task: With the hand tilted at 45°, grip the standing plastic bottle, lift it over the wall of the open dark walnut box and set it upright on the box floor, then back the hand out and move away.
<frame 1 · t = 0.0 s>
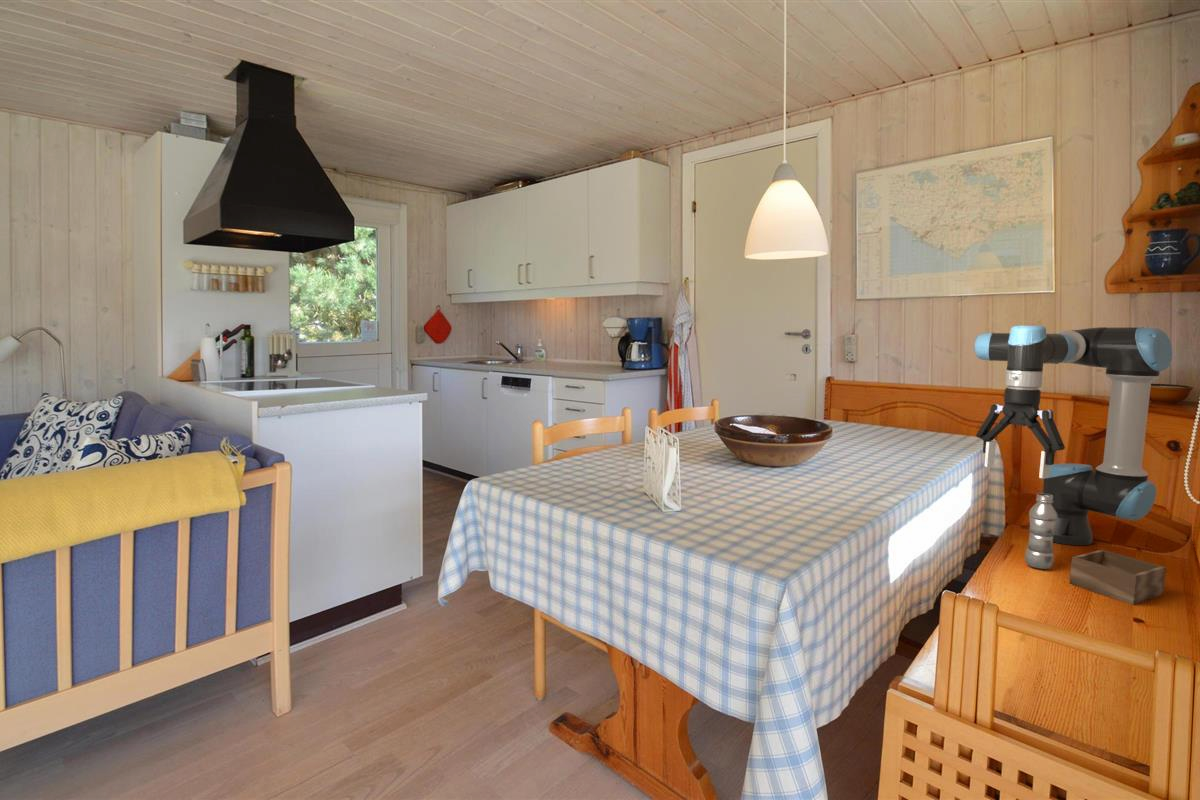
hand: (1015, 471, 161), 28 cm above the bench, tool pointing down, fingers open, 13 cm apart
plastic bottle: (1038, 567, 173), on the bench
walnut bottle box: (1115, 589, 158), on the bench
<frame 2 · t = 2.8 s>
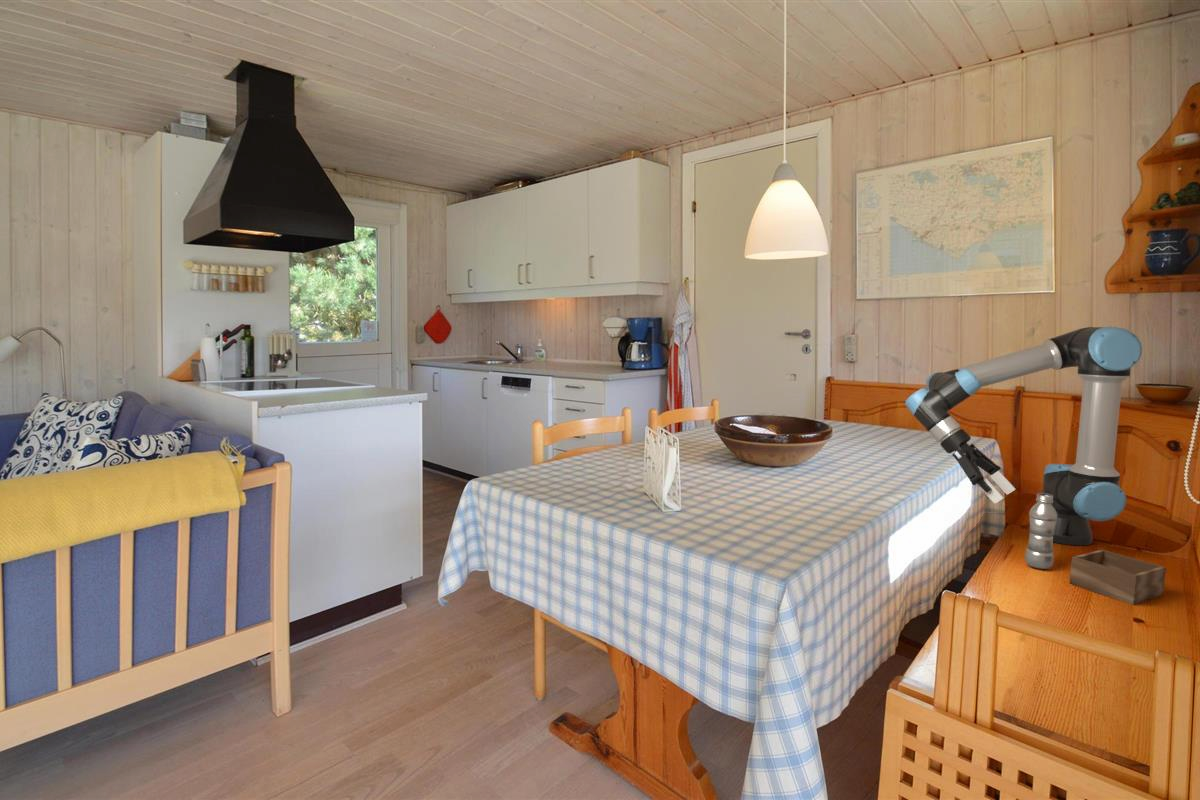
hand: (1005, 496, 177), 18 cm above the bench, tool tilted 45°, fingers open, 13 cm apart
nothing on the bench moved.
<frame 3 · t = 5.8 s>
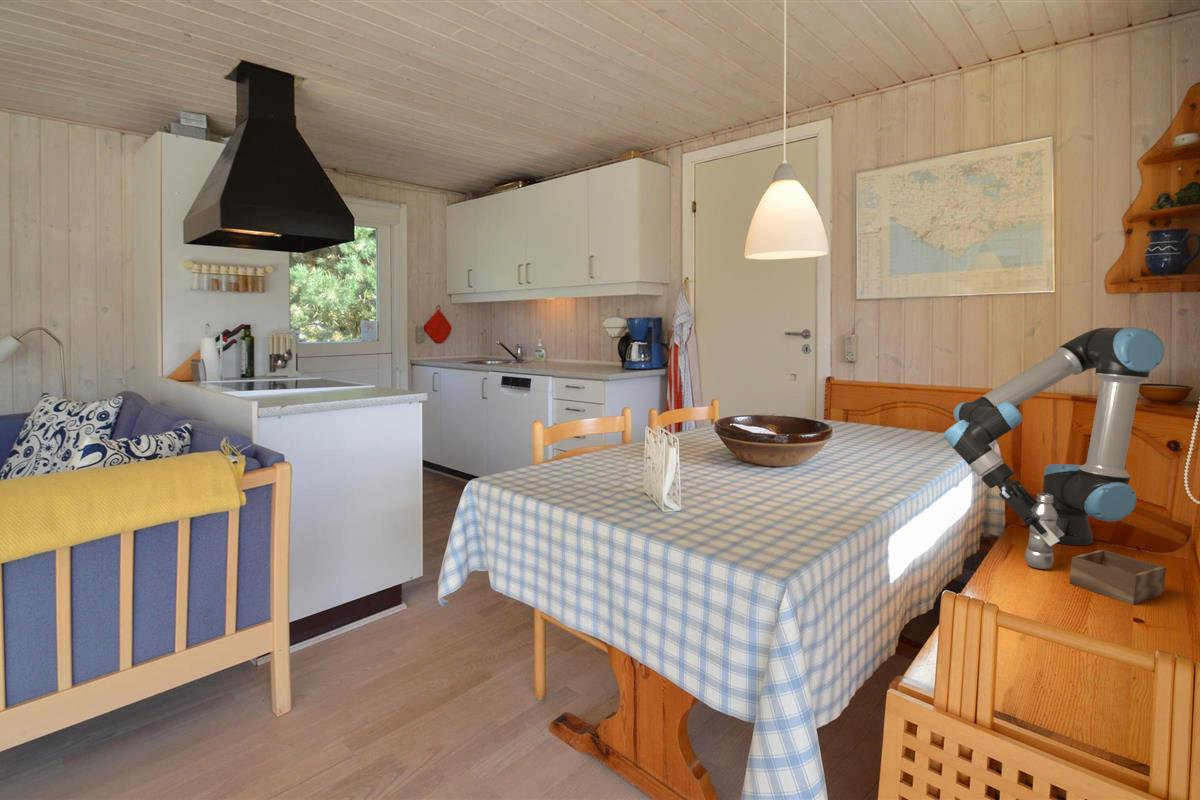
hand: (1057, 540, 169), 8 cm above the bench, tool tilted 45°, fingers closed on plastic bottle, 6 cm apart
plastic bottle: (1038, 567, 173), on the bench, touching gripper
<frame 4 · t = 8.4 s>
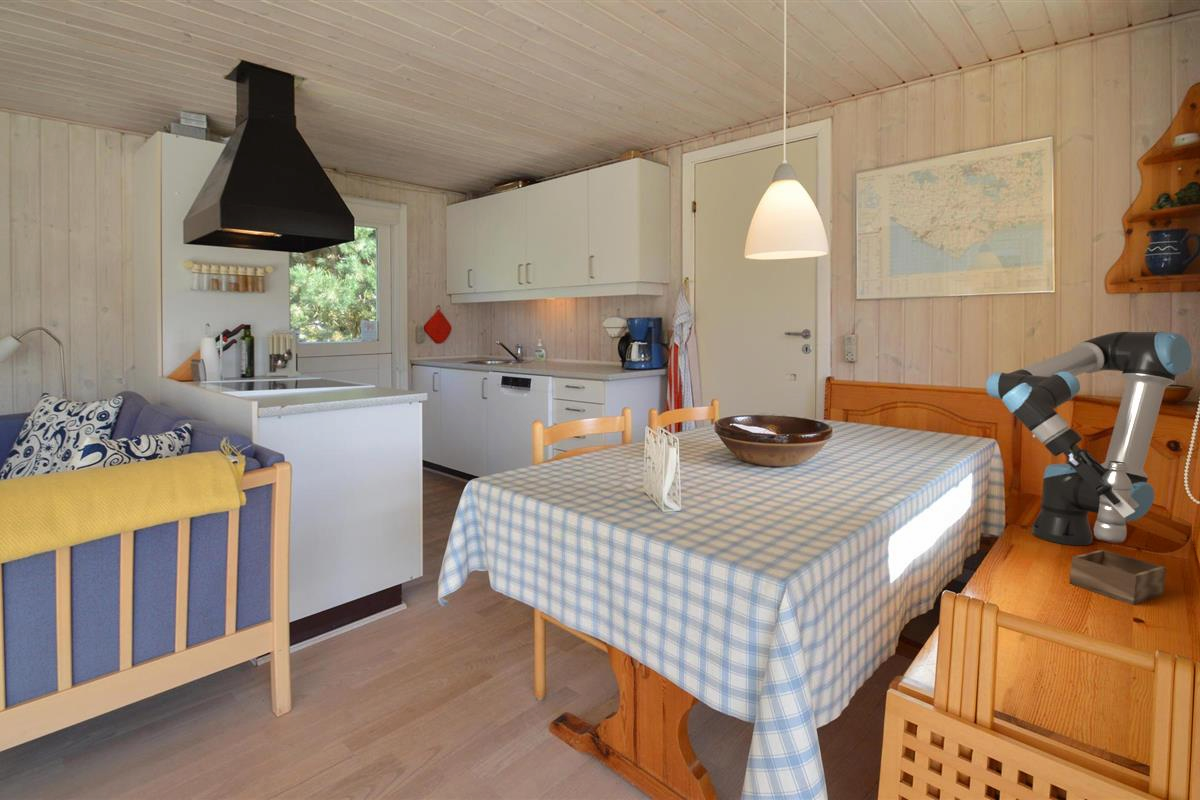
hand: (1131, 511, 155), 20 cm above the bench, tool tilted 45°, fingers closed on plastic bottle, 6 cm apart
plastic bottle: (1108, 542, 158), point 12 cm above the bench, touching gripper
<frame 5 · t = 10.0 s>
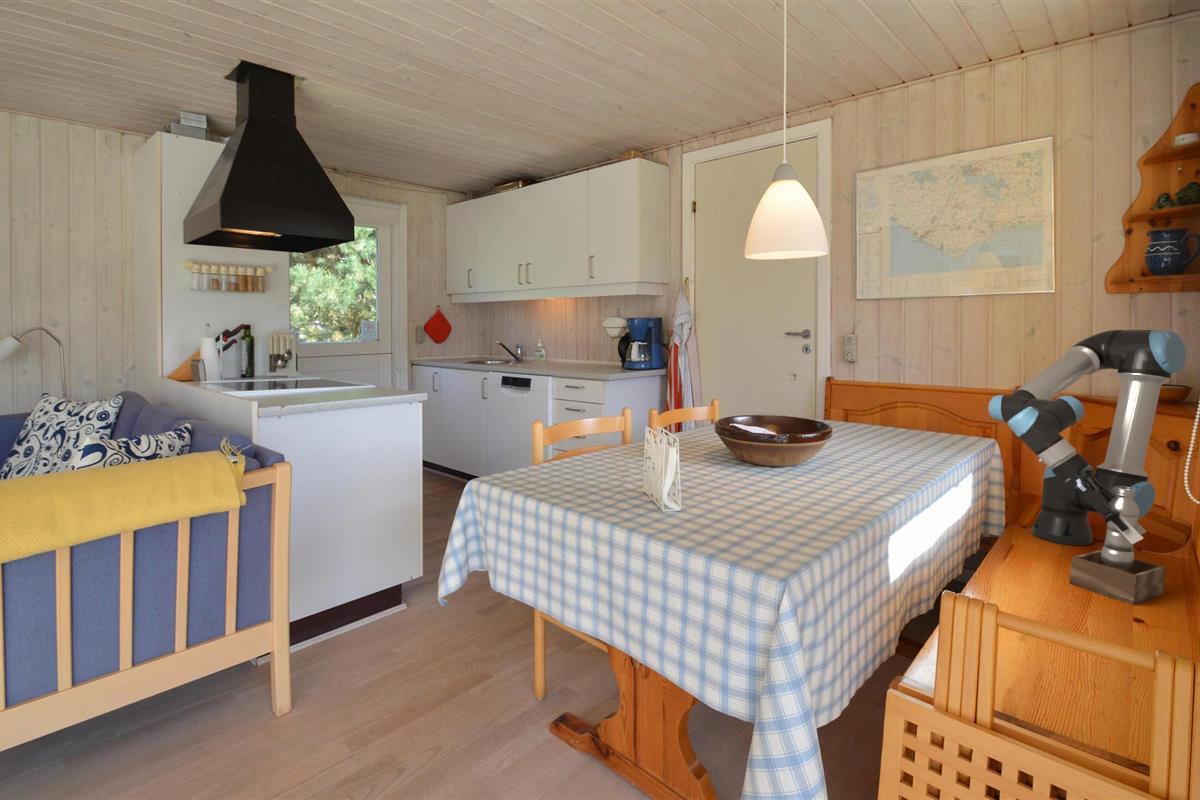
hand: (1139, 537, 154), 14 cm above the bench, tool tilted 45°, fingers closed on plastic bottle, 6 cm apart
plastic bottle: (1116, 568, 158), point 5 cm above the bench, touching gripper
when the fingers open (11 cm above the bench, at t = 11.0 s): plastic bottle drops 2 cm, resting on walnut bottle box.
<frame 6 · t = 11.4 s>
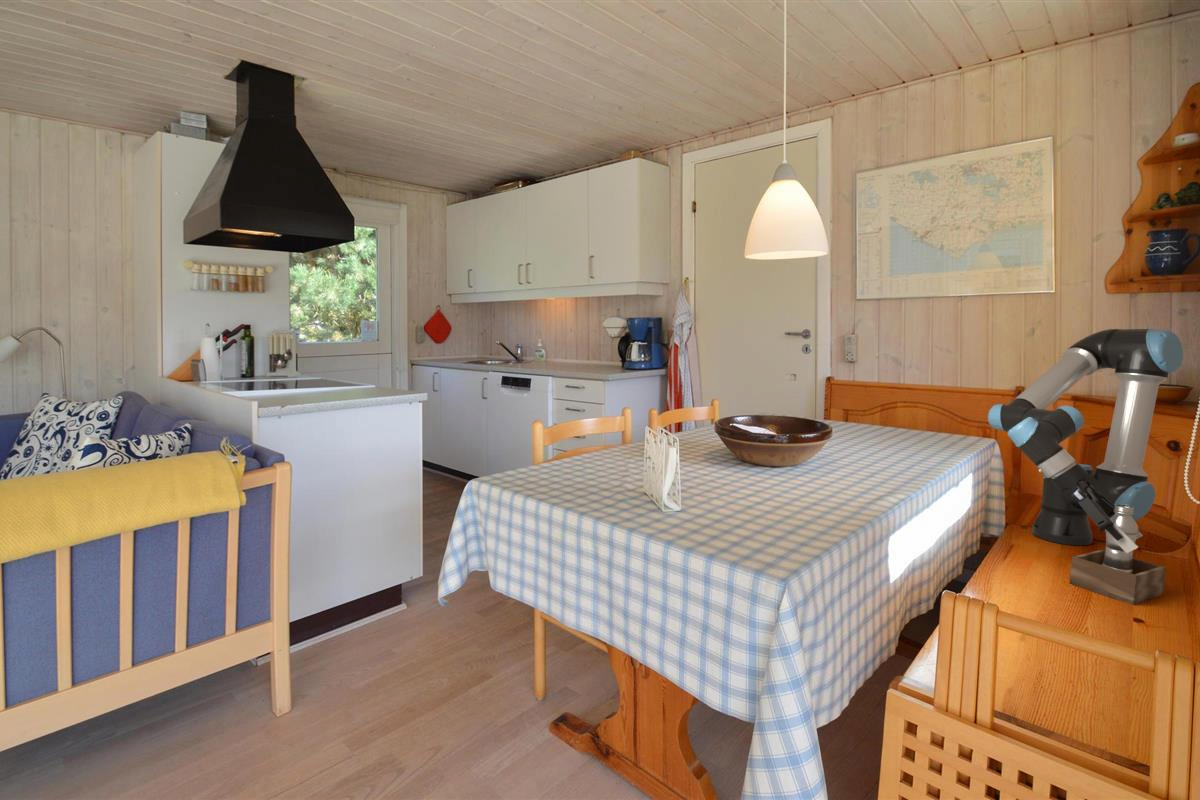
hand: (1135, 544, 155), 12 cm above the bench, tool tilted 45°, fingers open, 11 cm apart
plastic bottle: (1115, 585, 159), point 1 cm above the bench, touching walnut bottle box
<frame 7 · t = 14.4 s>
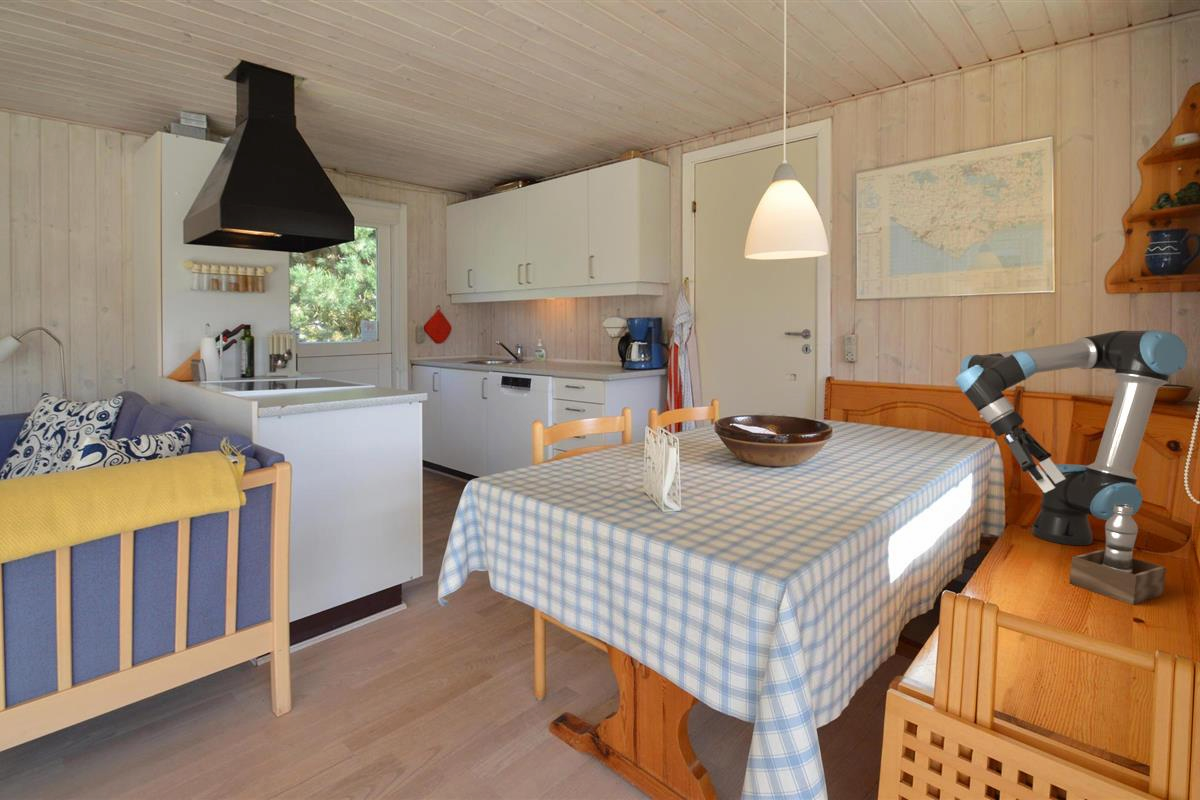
hand: (1055, 485, 167), 23 cm above the bench, tool tilted 40°, fingers open, 13 cm apart
nothing on the bench moved.
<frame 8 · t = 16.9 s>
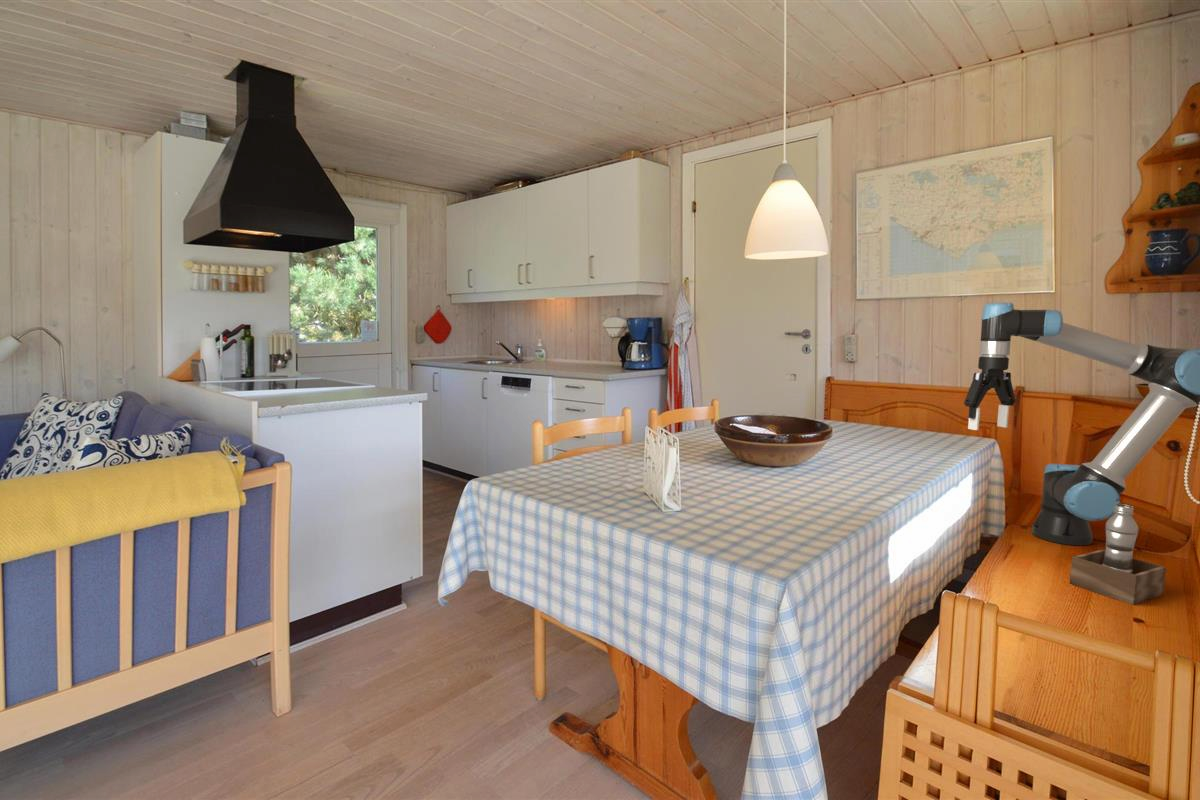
hand: (987, 428, 189), 35 cm above the bench, tool pointing down, fingers open, 13 cm apart
nothing on the bench moved.
at the end: plastic bottle inside the target area on the walnut bottle box (0.8 cm from its centre), point 0.8 cm above the walnut bottle box's base; plastic bottle tilted 0°; the gripper is holding nothing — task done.
